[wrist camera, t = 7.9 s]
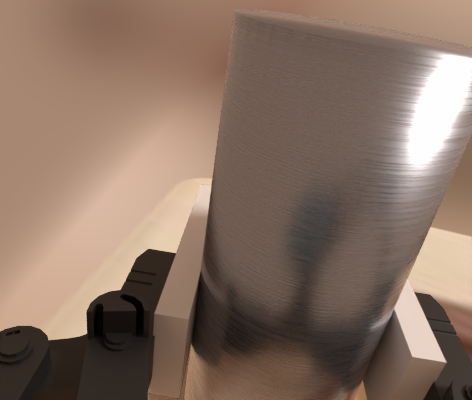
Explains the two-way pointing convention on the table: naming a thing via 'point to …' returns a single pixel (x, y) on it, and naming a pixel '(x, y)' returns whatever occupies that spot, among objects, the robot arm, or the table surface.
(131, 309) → the robot arm
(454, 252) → the table surface
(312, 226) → the pin
